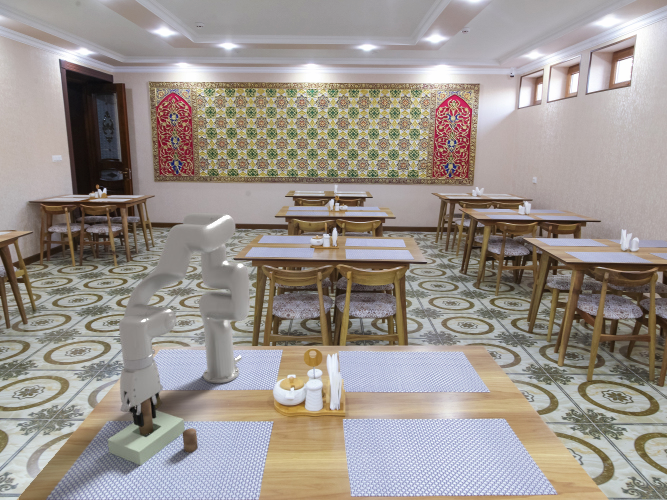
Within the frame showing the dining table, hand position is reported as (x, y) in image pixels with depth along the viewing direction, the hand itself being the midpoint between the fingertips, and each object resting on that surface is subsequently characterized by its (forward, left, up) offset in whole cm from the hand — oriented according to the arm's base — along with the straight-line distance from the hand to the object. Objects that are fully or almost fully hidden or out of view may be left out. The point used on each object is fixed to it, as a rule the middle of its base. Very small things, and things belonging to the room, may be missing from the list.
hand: (145, 420), depth 129 cm
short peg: (-3, +13, -7) cm, 15 cm away
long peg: (0, 0, -3) cm, 3 cm away
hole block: (0, 0, -7) cm, 7 cm away
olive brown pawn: (-14, -14, -7) cm, 21 cm away
